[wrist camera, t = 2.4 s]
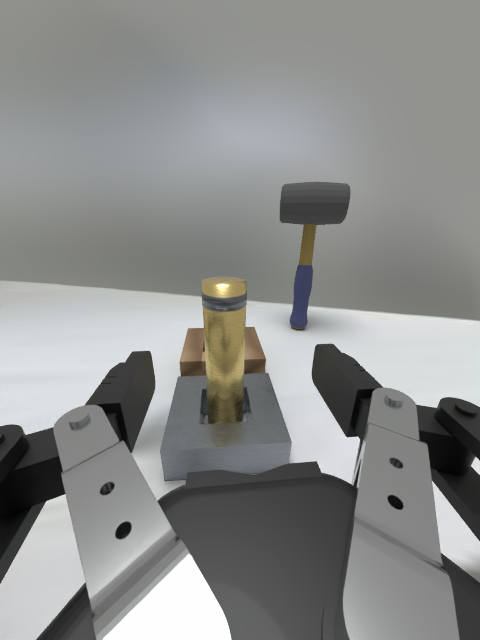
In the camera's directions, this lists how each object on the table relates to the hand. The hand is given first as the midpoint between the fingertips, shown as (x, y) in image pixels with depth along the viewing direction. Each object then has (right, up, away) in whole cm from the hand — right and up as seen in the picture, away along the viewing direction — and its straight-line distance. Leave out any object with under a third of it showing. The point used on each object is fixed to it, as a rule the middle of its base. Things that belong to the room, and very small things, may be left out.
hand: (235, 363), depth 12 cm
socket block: (-1, -11, +17) cm, 20 cm away
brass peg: (-1, -11, +17) cm, 20 cm away
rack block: (-3, -6, +29) cm, 29 cm away
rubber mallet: (+14, 0, +45) cm, 47 cm away
